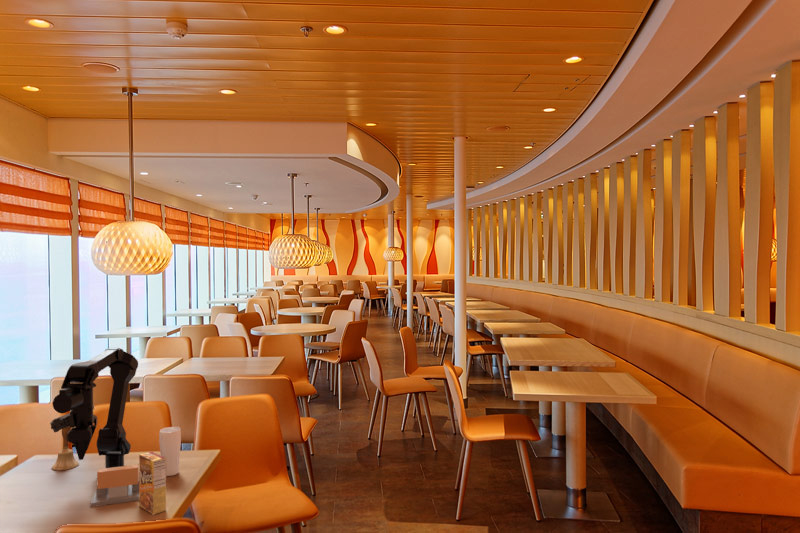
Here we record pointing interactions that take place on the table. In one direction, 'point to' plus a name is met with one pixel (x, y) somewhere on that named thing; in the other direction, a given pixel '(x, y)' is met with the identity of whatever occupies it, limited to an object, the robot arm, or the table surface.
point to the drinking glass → (170, 448)
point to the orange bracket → (117, 476)
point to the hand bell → (65, 455)
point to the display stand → (115, 495)
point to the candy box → (152, 482)
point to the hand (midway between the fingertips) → (83, 454)
